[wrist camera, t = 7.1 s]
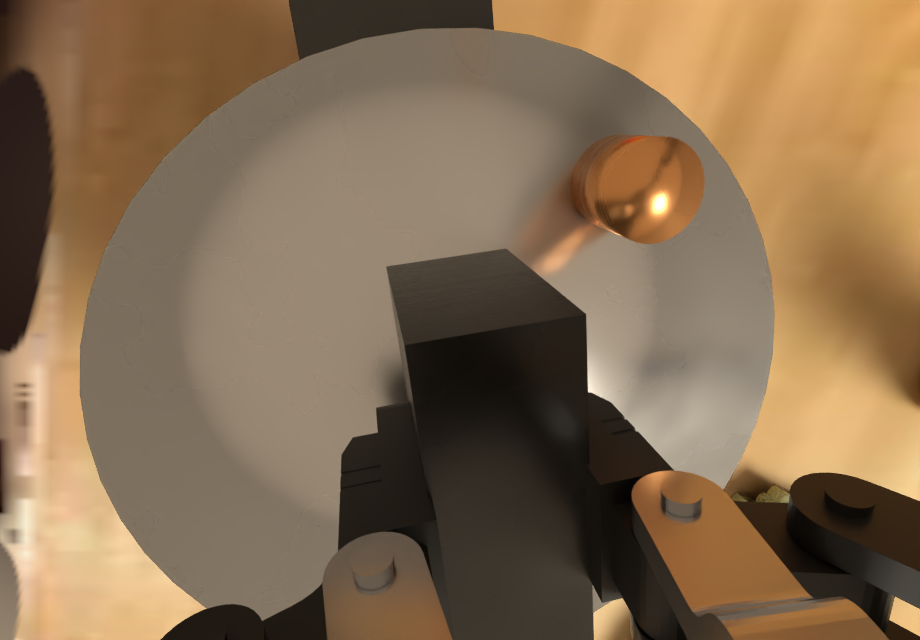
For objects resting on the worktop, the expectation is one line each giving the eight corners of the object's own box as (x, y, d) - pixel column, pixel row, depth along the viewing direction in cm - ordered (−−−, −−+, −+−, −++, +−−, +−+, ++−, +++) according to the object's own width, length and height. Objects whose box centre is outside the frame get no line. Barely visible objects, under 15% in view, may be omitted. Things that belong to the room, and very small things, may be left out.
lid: (-20, 79, 9) (-424, 32, 4) (768, 5, 11) (1077, -83, 6) (214, 680, 15) (147, 952, 10) (719, 558, 17) (867, 733, 12)
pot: (168, 30, 19) (-13, -64, 9) (554, -3, 21) (719, -108, 11) (291, 491, 26) (256, 698, 16) (570, 435, 28) (680, 592, 18)
